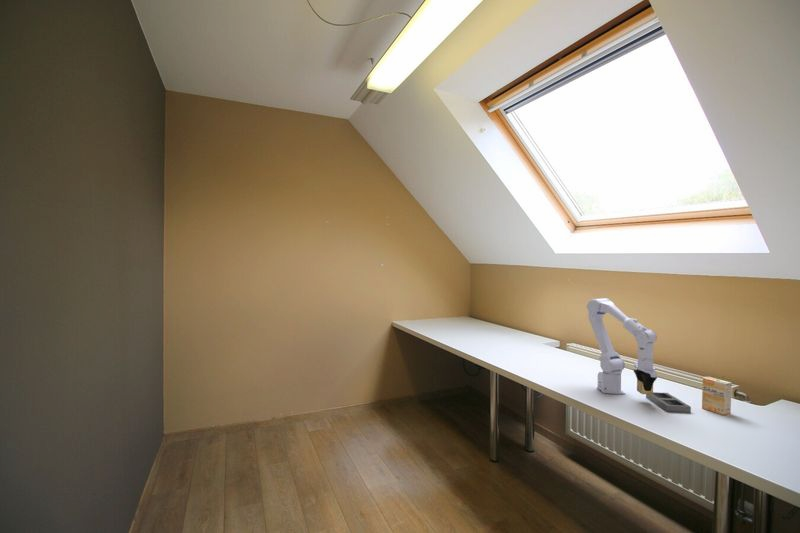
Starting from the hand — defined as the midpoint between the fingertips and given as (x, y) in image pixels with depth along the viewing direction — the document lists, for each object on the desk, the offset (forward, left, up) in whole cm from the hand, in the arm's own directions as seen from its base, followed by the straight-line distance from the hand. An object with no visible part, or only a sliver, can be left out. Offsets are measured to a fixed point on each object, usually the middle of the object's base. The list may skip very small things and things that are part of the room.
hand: (644, 388), depth 165 cm
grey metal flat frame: (+8, -2, -6) cm, 10 cm away
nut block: (0, 0, -2) cm, 2 cm away
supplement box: (+24, -7, -6) cm, 26 cm away
